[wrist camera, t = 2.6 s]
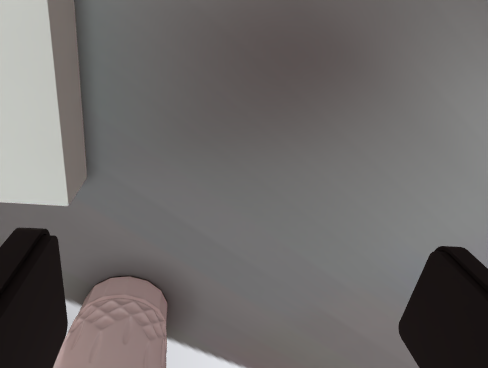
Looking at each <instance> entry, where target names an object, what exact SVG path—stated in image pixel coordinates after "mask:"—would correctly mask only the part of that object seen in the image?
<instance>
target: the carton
mask: <svg viewBox="0 0 488 368" xmlns="http://www.w3.org/2000/svg"><path fill="white" fill-rule="evenodd" d="M86 179H87V168H86V155H85V141H84V127H83V114H82V100H81V86H80V73H79V59H78V45H77V31H76V18H75V4H74V0H0V202H7V203H24V204H42V205H59V206H69V205H70V203H71V201H72V200H73V198H74V197H75V195H76V194H77V192H78V191H79V189H80V188H81V186H82V185H83V183H84V182H85V180H86Z"/></svg>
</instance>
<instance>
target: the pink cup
mask: <svg viewBox="0 0 488 368" xmlns="http://www.w3.org/2000/svg"><path fill="white" fill-rule="evenodd" d="M166 318H167V302H166V300H165V298H164V296H163V293H162V291H161V290H159V289H158V288H157V287H155V286H154V285H153V284H151V283H150V282H148V281H146V280H142V279H138V278H134V277H130V276H128V277H115V278H109V279H107V280H105V281H103V282H101V283H99V284H97V285H95V286H94V287H93V289H92V290H91V291H90V293H89V294H88V295H87V297H86V298H85V300H84V303H83V305H82V307H81V309H80V312H79V314H78V315H77V317H76V318H75V320H74V322H73V324H72V326H71V328H70V330H69V332H68V334H67V336H66V338H65V340H64V342H63V344H62V347H61V349H60V352H59V354H58V357H57V359H56V361H55V364H54V366H53V368H166V351H167V334H166Z"/></svg>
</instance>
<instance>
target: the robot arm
mask: <svg viewBox="0 0 488 368" xmlns="http://www.w3.org/2000/svg"><path fill="white" fill-rule="evenodd" d="M67 323H68V322H67V312H66V304H65V295H64V287H63V279H62V270H61V262H60V253H59V245H58V239H57V237H56V236H50V234H49V231H48V230H47V229H39V228H17V229H15V230H14V231H13V233H12V234H11V235H10V236H9V237H8V239H7V240H6V241H5V242H4V243H3V245H2V246H1V247H0V368H53V366H54V364H55V361H56V359H57V357H58V354H59V352H60V349H61V347H62V344H63V342H64V339H65V336H66V332H67ZM399 334H400V336H401V338H402V340H403V342H404V343H405V345H406V347H407V348H408V350H409V351H410V353H411V355H412V356H413V358H414V360H415V361H416V363H417V365H418V366H419V368H488V268H486V267H485V266H484V265H483V264H482V263H481V262H480V261H479V260H478V259H477V258H475V257H474V256H473V255H472V254H471V253H470V252H469V251H468V250H466V249H465V248H462V247H449V246H441V247H438V248H437V249H436V250H435V251H434V252H432V253H431V254H430V256H429V258H428V260H427V262H426V264H425V267H424V269H423V271H422V273H421V275H420V278H419V280H418V282H417V284H416V287H415V289H414V291H413V293H412V295H411V298H410V300H409V302H408V304H407V307H406V309H405V311H404V313H403V316H402V318H401V320H400V322H399Z"/></svg>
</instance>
